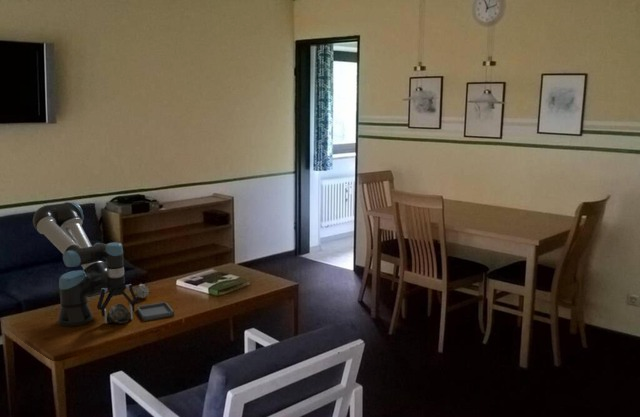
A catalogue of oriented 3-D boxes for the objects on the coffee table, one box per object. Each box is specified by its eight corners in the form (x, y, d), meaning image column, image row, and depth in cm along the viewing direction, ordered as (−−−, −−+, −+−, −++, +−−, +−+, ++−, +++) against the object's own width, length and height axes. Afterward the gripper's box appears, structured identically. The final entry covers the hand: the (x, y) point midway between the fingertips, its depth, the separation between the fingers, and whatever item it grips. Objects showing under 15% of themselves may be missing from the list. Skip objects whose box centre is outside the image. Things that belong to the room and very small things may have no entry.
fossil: (123, 325, 280) (112, 307, 279) (108, 332, 283) (97, 314, 282) (135, 316, 291) (124, 298, 290) (120, 323, 293) (110, 305, 292)
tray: (143, 321, 288) (143, 316, 288) (136, 310, 302) (136, 306, 301) (174, 315, 295) (174, 311, 294) (166, 305, 308) (166, 301, 308)
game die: (146, 304, 321) (157, 290, 319) (134, 303, 314) (145, 289, 312) (138, 293, 325) (149, 279, 324) (126, 291, 318) (137, 277, 316)
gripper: (90, 281, 274) (93, 327, 278) (143, 274, 285) (145, 318, 289) (88, 277, 281) (91, 321, 285) (139, 270, 292) (142, 313, 296)
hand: (118, 320), depth 287 cm, fingers closed on fossil, 11 cm apart
